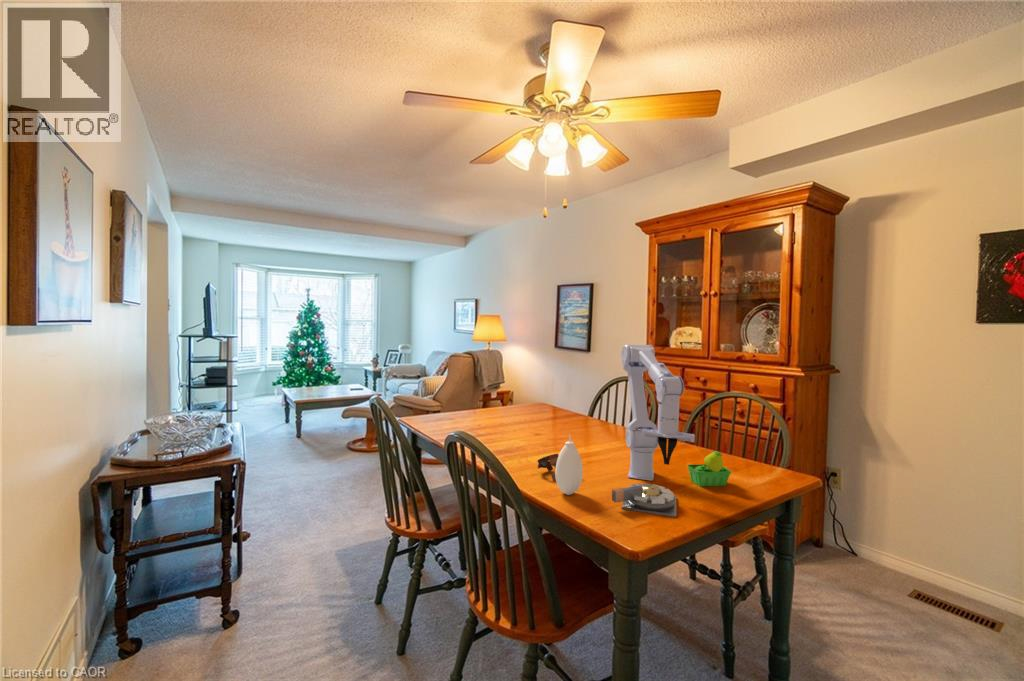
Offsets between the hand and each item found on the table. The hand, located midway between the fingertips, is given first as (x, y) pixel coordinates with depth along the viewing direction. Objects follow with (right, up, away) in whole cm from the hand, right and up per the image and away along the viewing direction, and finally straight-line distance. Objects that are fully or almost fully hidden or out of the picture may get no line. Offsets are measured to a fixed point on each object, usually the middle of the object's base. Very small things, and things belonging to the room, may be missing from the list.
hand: (666, 463), depth 133 cm
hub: (-6, -10, -5) cm, 13 cm away
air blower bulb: (-29, -9, +1) cm, 30 cm away
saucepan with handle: (-8, -8, -7) cm, 13 cm away
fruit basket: (+18, -10, +12) cm, 24 cm away
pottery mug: (-31, -9, +17) cm, 36 cm away
